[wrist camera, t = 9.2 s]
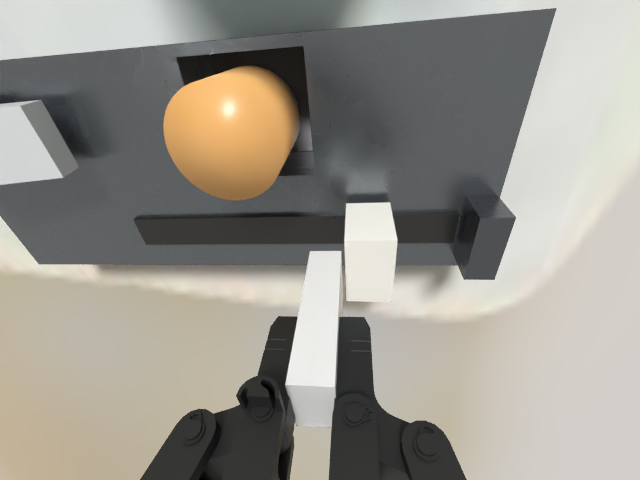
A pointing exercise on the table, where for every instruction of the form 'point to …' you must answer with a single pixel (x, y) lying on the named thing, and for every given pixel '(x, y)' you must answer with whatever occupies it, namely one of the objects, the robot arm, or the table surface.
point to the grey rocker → (31, 145)
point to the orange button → (232, 131)
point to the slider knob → (369, 252)
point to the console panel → (300, 167)
